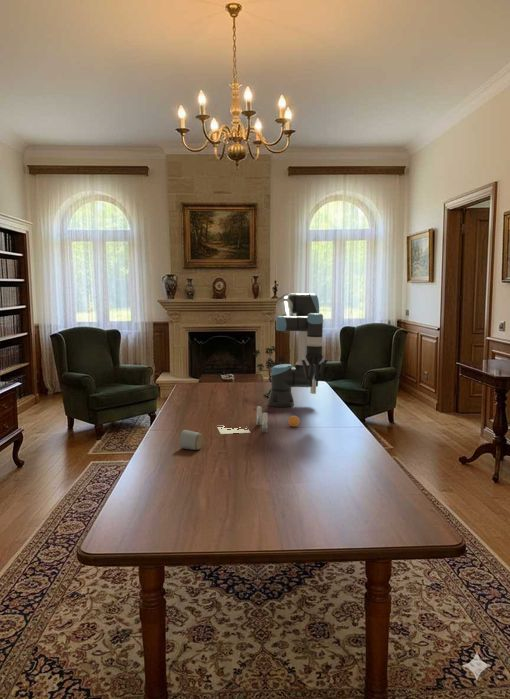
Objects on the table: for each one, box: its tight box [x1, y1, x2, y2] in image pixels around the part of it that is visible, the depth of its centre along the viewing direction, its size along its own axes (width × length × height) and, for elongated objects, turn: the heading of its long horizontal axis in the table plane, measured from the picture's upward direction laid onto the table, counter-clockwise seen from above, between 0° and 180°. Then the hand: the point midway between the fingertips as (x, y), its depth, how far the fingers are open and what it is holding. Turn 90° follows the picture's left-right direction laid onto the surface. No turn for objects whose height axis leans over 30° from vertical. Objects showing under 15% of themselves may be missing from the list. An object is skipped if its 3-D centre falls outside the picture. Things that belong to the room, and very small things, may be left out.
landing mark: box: [216, 425, 251, 435], centre depth 239 cm, size 14×14×1 cm
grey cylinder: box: [178, 429, 204, 451], centre depth 211 cm, size 11×8×8 cm
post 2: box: [261, 411, 269, 433], centre depth 236 cm, size 2×2×9 cm
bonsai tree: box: [252, 346, 286, 397], centre depth 311 cm, size 35×24×32 cm
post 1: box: [256, 405, 263, 426], centre depth 248 cm, size 2×2×9 cm
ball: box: [287, 415, 300, 428], centre depth 245 cm, size 6×6×6 cm
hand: (313, 393), depth 245 cm, fingers closed
